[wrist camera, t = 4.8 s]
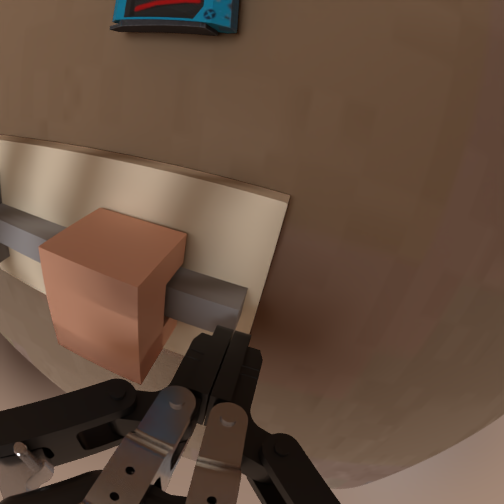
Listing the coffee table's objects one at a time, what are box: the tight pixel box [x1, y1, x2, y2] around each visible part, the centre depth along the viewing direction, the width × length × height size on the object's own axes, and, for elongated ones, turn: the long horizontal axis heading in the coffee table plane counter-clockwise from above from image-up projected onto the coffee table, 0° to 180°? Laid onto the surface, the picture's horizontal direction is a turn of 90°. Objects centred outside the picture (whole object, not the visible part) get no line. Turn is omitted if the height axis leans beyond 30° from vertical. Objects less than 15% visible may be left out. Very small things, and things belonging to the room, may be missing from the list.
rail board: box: [0, 135, 290, 356], centre depth 15 cm, size 21×11×6 cm, turn 77°
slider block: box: [38, 208, 187, 385], centre depth 14 cm, size 5×6×5 cm
